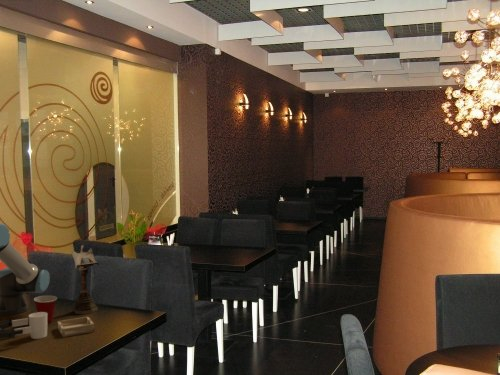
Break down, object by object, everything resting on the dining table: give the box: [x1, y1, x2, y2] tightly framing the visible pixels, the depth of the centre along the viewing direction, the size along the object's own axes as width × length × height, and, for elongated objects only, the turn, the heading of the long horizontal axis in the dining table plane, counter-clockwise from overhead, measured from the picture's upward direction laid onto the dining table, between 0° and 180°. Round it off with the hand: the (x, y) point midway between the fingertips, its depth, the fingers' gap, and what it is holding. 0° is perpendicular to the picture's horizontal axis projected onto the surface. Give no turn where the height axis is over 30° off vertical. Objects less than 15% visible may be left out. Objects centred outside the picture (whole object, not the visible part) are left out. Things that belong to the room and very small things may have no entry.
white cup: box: [28, 311, 48, 340], centre depth 239 cm, size 8×8×10 cm
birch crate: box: [56, 316, 95, 338], centre depth 247 cm, size 14×14×4 cm
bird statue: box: [71, 244, 100, 315], centre depth 275 cm, size 17×13×35 cm
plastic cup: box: [33, 295, 58, 324], centre depth 261 cm, size 11×11×12 cm
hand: (29, 325), depth 237 cm, fingers open, 13 cm apart
